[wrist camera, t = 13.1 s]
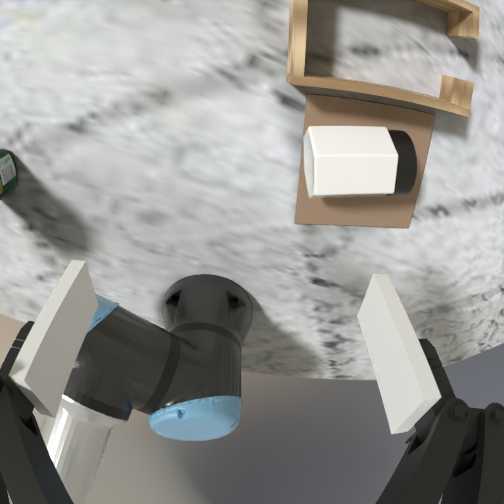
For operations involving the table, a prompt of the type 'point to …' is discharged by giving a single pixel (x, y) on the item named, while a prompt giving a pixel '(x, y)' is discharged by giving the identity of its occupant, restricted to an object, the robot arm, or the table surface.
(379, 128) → the jar
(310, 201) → the mat
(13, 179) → the coffee jar
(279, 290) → the table surface
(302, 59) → the crate
